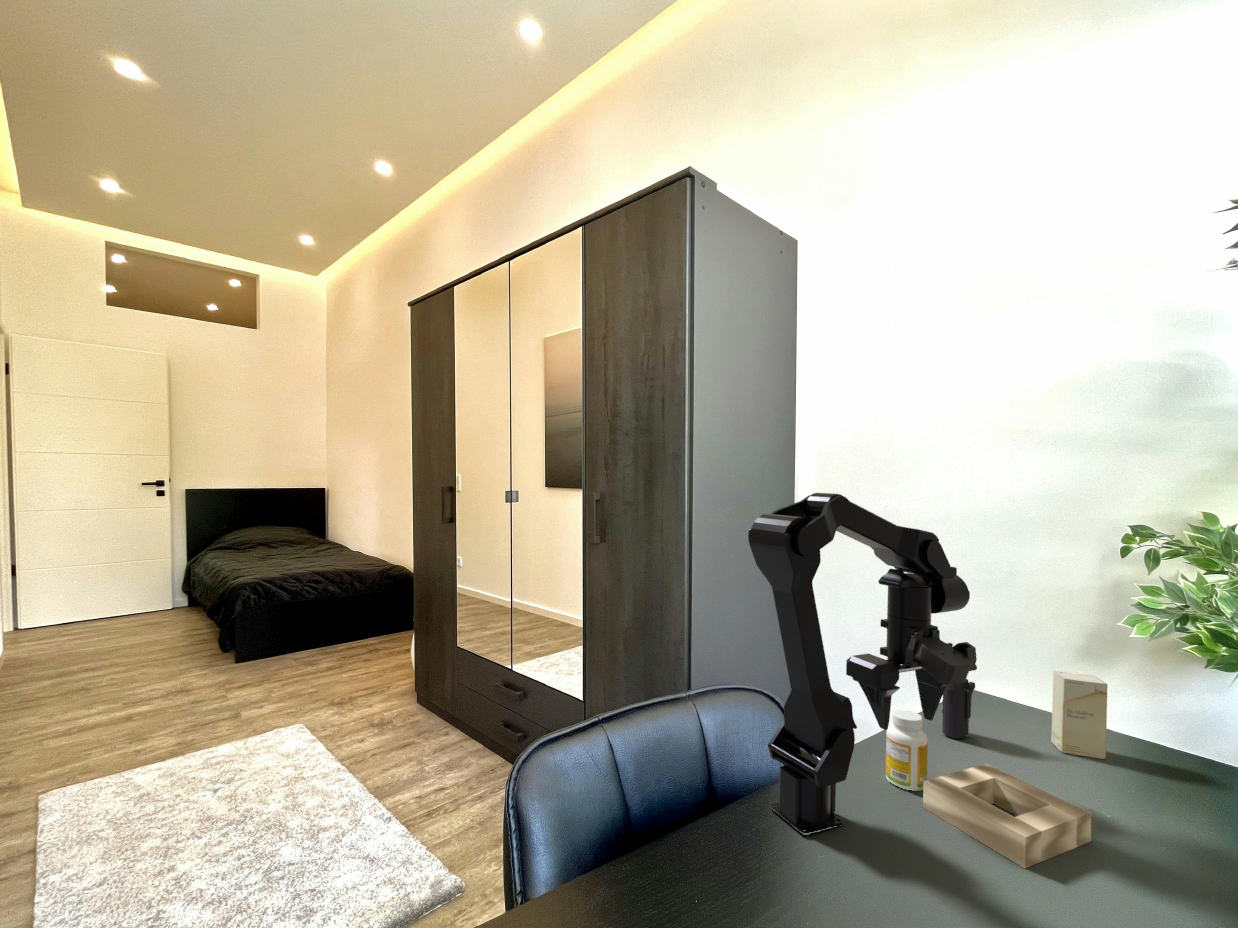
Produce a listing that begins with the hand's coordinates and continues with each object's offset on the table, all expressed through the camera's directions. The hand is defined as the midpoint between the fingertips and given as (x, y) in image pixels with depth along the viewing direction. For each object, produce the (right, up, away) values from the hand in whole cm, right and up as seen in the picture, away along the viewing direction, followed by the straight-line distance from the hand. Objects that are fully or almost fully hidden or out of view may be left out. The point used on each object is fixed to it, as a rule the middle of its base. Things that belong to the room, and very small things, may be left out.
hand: (906, 724), depth 84 cm
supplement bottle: (0, -9, 0) cm, 9 cm away
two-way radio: (+17, -9, +16) cm, 25 cm away
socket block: (+8, -8, -10) cm, 15 cm away
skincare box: (+34, -10, +12) cm, 37 cm away
